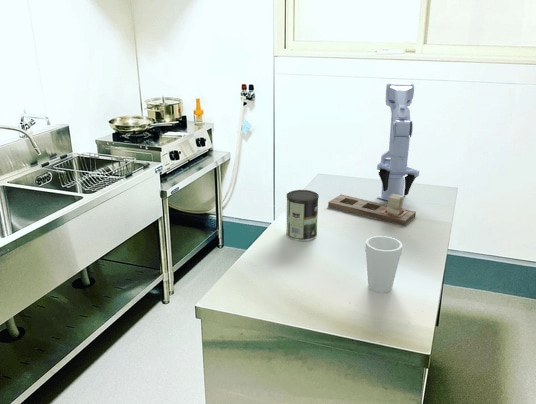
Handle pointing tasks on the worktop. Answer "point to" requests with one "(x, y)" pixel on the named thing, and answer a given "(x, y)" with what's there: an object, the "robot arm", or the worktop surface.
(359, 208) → the brown slotted board
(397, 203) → the peg
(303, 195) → the coffee can
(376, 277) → the foam cup
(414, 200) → the worktop surface
